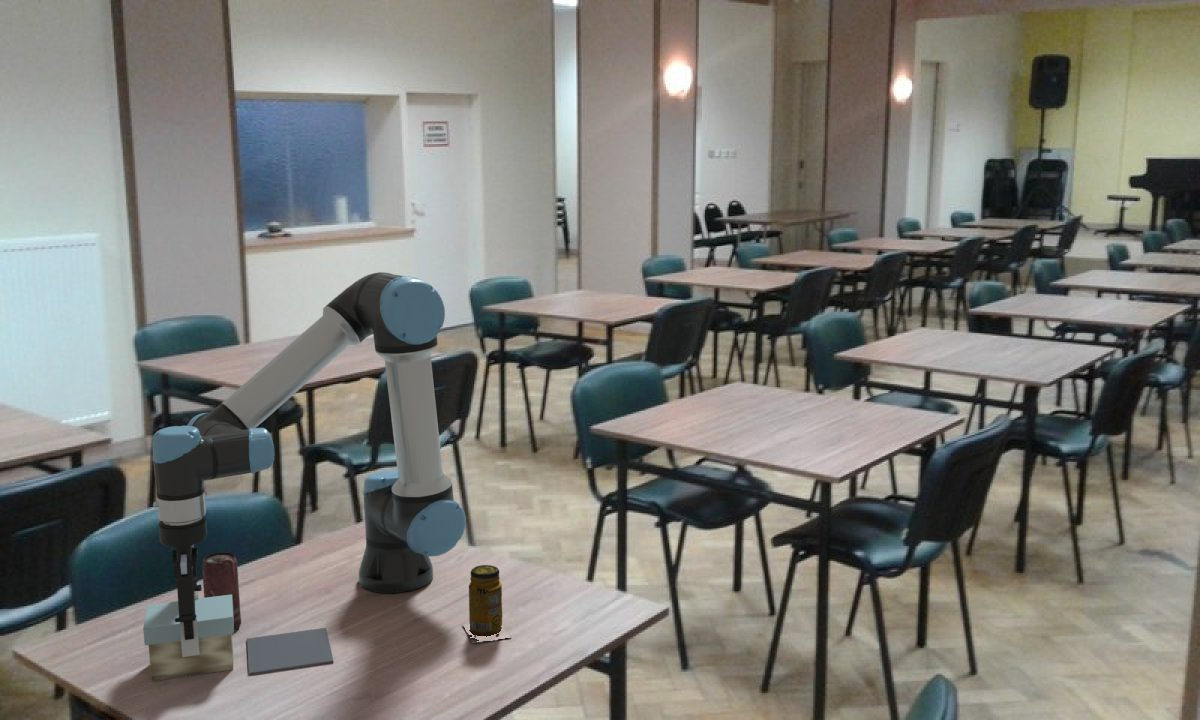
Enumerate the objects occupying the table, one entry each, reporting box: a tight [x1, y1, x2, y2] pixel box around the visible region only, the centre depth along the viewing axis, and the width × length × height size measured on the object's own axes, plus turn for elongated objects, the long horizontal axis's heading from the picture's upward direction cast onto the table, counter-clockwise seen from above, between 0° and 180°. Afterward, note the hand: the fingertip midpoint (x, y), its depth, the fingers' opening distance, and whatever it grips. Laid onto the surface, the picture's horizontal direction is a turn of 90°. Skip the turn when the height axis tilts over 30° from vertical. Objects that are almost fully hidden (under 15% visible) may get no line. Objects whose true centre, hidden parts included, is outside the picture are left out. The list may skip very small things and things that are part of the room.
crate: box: [148, 634, 234, 682], centre depth 187 cm, size 13×8×7 cm, turn 109°
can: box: [201, 552, 242, 632], centre depth 201 cm, size 6×6×14 cm
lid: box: [142, 594, 235, 646], centre depth 186 cm, size 14×10×6 cm
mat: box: [246, 627, 334, 676], centre depth 192 cm, size 14×14×1 cm
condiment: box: [466, 564, 503, 644], centre depth 199 cm, size 7×8×12 cm
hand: (191, 641), depth 187 cm, fingers closed on lid, 10 cm apart
